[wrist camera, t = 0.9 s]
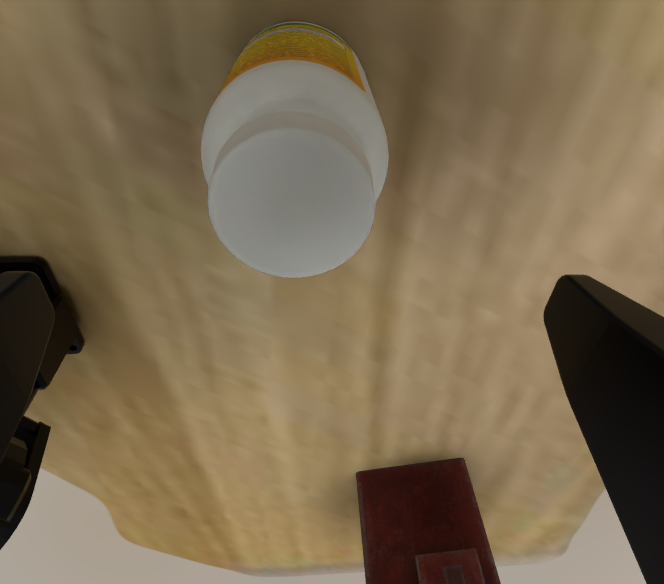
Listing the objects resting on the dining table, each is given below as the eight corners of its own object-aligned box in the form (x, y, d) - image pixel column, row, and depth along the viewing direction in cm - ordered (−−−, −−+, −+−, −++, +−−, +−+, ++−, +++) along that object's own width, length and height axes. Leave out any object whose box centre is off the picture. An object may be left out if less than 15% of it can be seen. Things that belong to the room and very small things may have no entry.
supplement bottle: (389, 115, 19) (442, 242, 11) (284, 180, 20) (271, 328, 13) (318, -18, 16) (328, 39, 8) (202, 72, 17) (126, 185, 10)
